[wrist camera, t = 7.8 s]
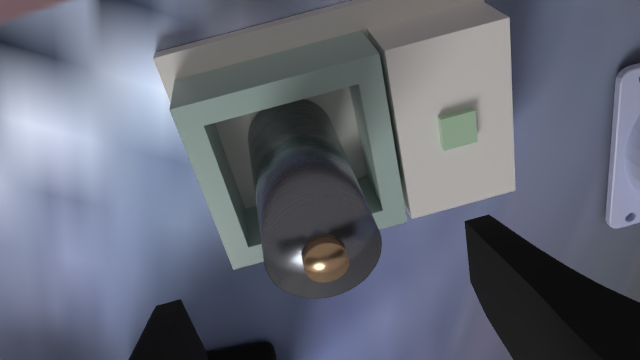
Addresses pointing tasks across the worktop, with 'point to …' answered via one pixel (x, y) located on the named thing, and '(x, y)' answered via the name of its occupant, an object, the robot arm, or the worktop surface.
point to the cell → (309, 203)
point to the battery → (245, 352)
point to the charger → (354, 105)
